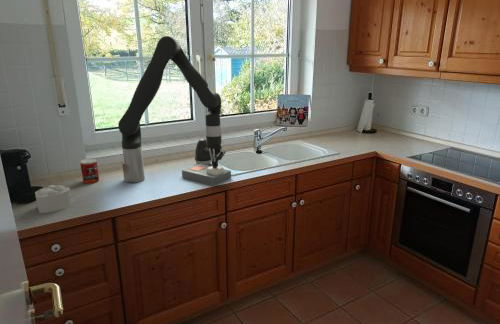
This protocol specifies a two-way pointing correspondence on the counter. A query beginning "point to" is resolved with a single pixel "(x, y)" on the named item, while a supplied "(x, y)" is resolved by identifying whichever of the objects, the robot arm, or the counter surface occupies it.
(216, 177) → the key console
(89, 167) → the canned food
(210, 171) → the white key
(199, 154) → the pump dispenser
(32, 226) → the counter surface
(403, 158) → the counter surface
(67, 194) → the lumpy-topped squat cylinder
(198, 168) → the red key
